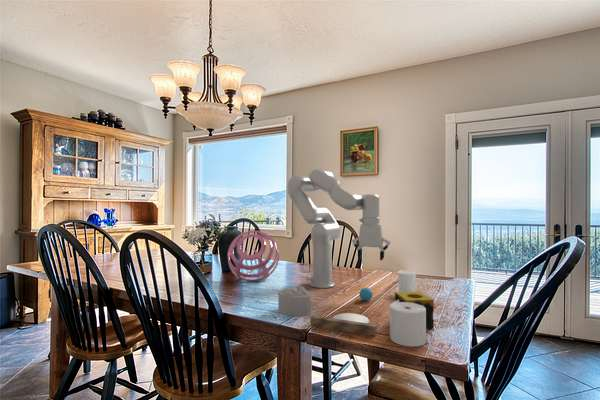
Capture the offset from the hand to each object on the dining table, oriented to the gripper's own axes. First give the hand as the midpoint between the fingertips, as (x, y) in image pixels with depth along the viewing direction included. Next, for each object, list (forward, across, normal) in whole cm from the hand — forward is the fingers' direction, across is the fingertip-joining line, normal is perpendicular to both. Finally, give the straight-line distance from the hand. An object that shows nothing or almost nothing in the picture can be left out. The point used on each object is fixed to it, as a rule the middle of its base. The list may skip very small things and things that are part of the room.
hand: (370, 259), depth 150 cm
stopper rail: (+16, 0, -45) cm, 48 cm away
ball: (+13, 0, -10) cm, 17 cm away
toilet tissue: (+16, +20, -44) cm, 51 cm away
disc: (+16, 0, -35) cm, 38 cm away
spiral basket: (+17, -65, +4) cm, 67 cm away
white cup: (+16, +15, +7) cm, 23 cm away
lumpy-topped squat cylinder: (+17, -22, -34) cm, 44 cm away
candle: (+16, +21, -30) cm, 40 cm away
